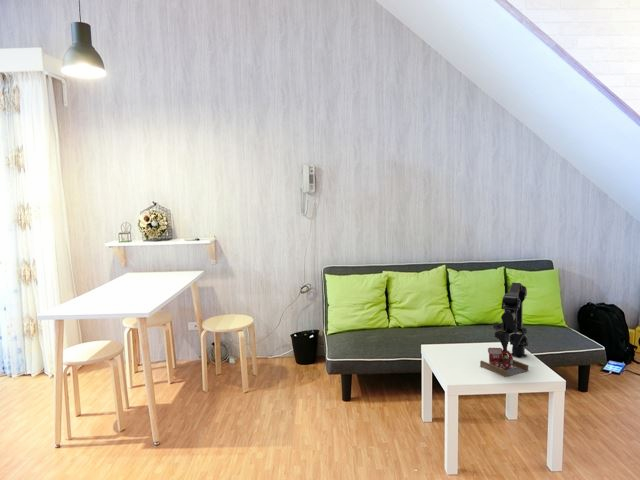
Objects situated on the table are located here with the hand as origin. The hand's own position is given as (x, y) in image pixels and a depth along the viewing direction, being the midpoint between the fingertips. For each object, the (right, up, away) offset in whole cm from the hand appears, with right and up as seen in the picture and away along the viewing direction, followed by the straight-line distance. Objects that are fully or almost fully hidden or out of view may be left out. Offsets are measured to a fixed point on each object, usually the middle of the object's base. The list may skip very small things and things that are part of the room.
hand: (510, 348), depth 231 cm
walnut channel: (-1, -12, +6) cm, 14 cm away
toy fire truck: (-2, -12, +8) cm, 15 cm away
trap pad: (+2, -12, +1) cm, 13 cm away
